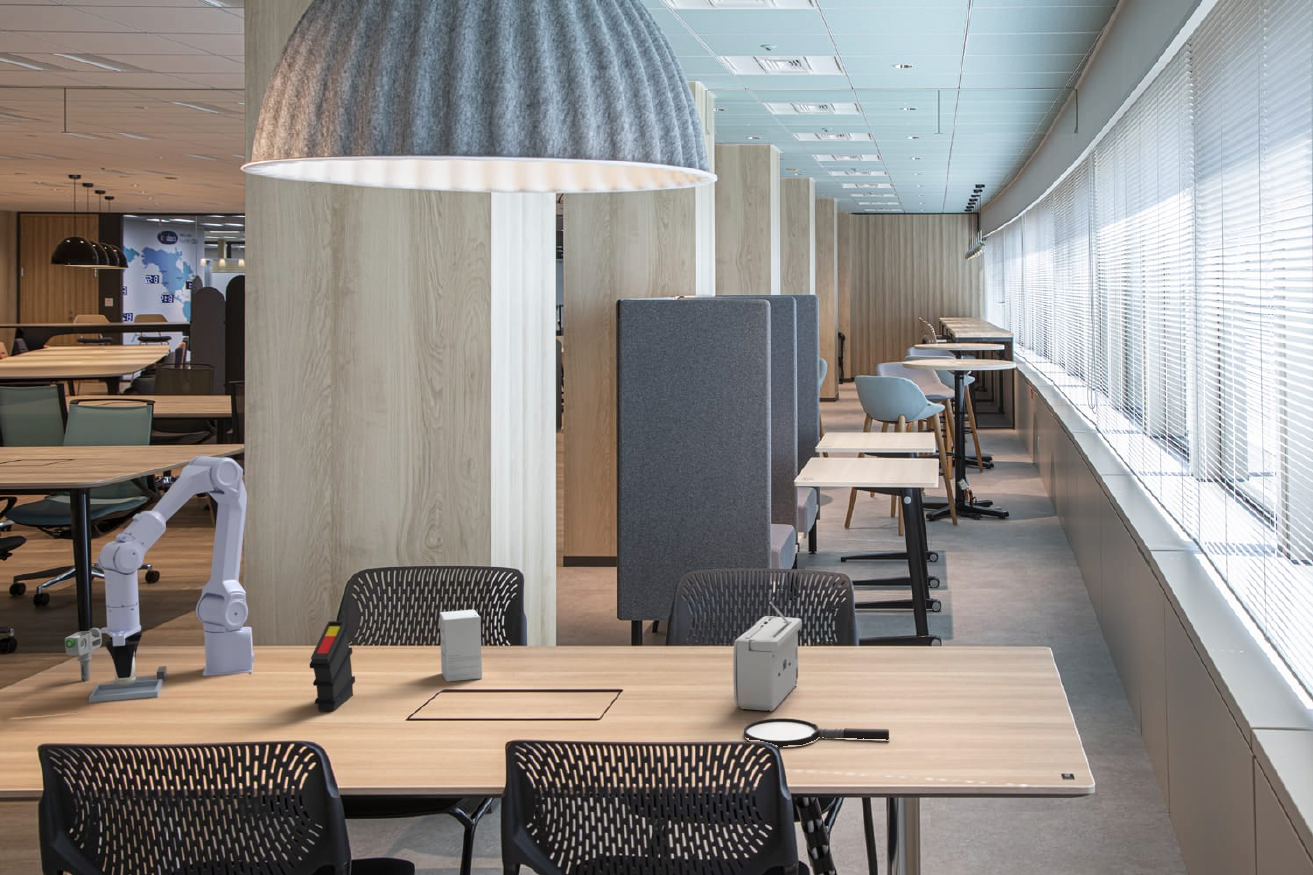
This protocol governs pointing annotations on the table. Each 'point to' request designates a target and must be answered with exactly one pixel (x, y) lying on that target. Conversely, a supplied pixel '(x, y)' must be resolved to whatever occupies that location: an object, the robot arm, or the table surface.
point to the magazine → (333, 667)
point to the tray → (126, 691)
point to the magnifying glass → (803, 732)
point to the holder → (160, 675)
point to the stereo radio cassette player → (766, 662)
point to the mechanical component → (83, 648)
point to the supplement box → (460, 645)
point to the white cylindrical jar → (127, 680)
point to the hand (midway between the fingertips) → (125, 674)
